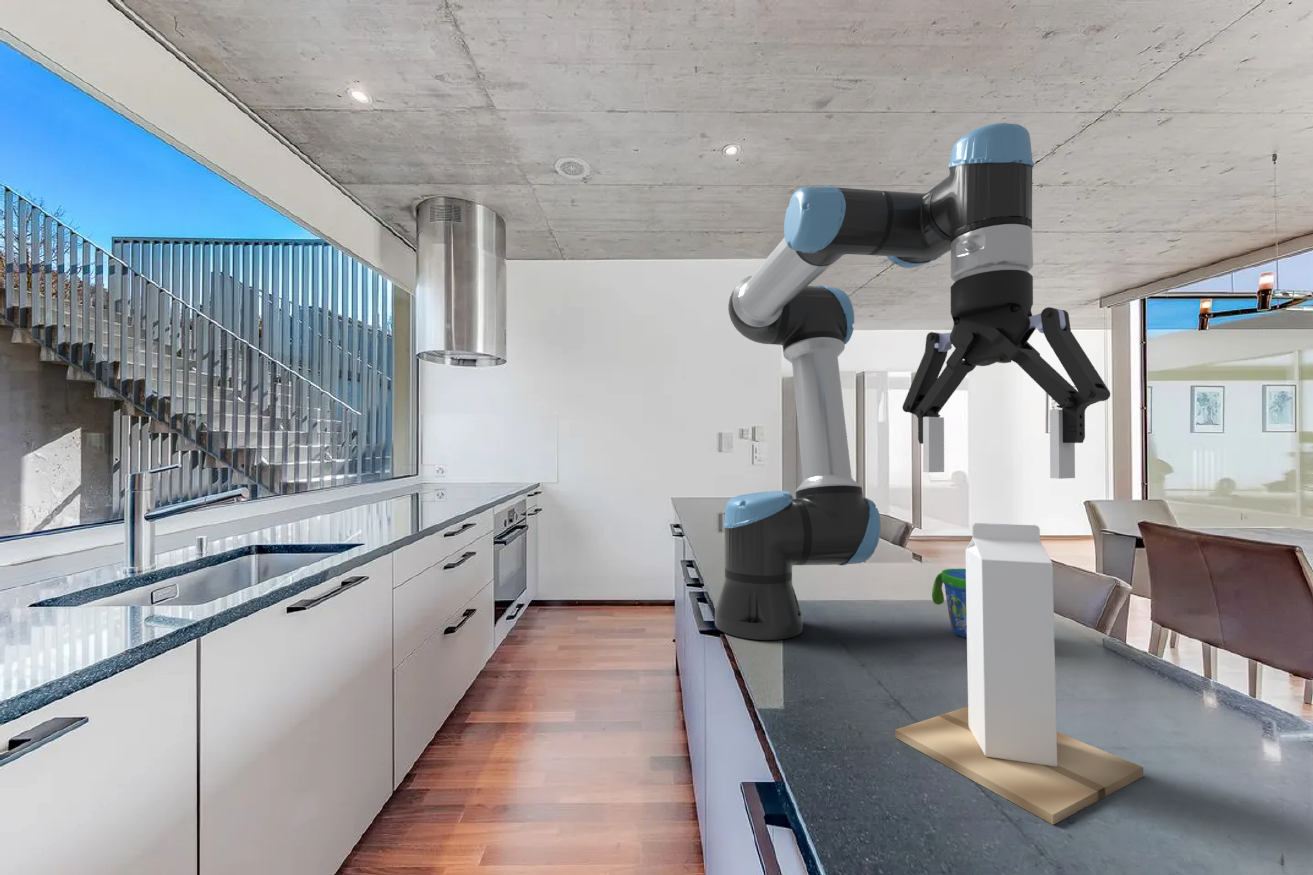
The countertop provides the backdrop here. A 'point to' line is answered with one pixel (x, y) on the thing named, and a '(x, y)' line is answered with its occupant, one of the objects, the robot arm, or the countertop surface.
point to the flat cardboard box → (1024, 767)
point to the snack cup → (953, 597)
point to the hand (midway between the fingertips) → (991, 475)
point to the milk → (1011, 644)
